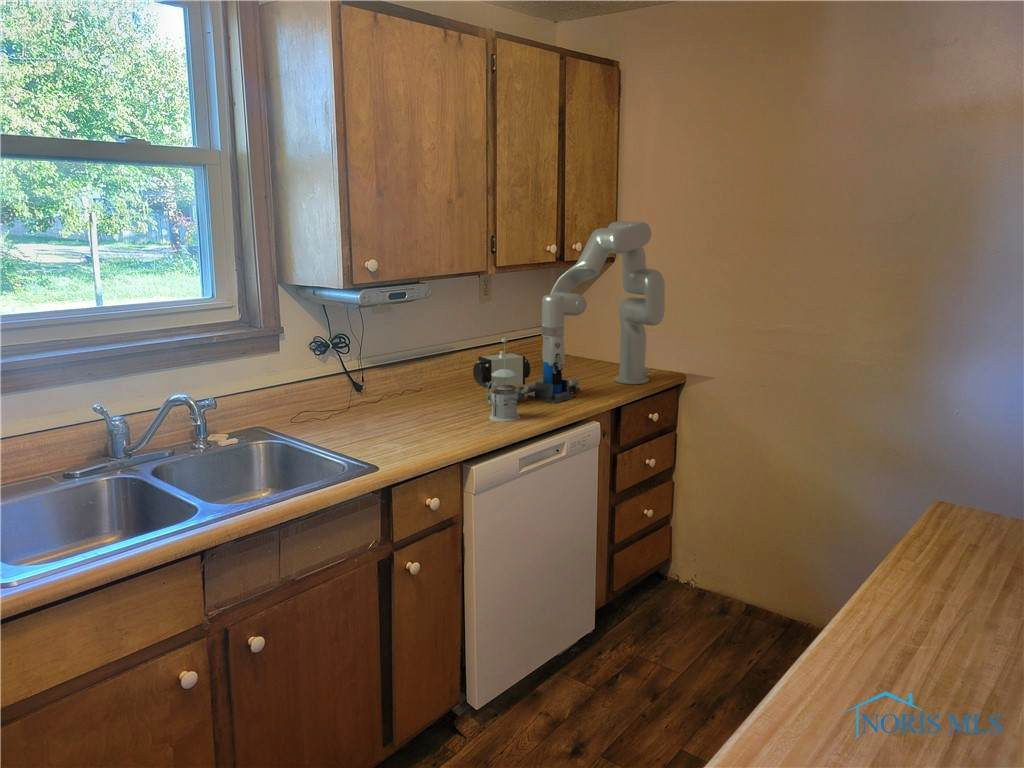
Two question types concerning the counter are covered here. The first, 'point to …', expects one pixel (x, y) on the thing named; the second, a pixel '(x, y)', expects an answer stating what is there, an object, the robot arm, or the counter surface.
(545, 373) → the beverage can
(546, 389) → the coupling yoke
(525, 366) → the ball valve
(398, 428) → the counter surface
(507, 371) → the french press
